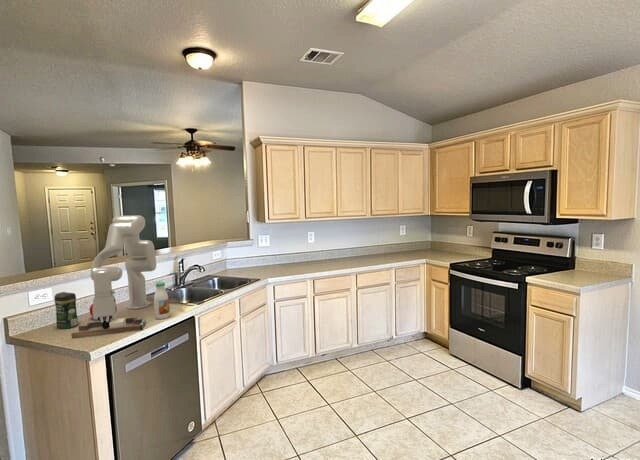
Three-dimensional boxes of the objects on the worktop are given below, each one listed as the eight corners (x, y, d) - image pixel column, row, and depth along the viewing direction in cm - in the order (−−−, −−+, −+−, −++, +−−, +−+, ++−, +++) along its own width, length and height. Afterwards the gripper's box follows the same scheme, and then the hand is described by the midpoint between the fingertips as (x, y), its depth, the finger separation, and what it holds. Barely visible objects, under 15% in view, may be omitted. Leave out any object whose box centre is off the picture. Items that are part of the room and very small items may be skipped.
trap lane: (82, 328, 184) (81, 323, 184) (146, 320, 193) (146, 316, 193) (71, 338, 170) (71, 333, 170) (142, 329, 179) (141, 325, 179)
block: (113, 328, 182) (112, 319, 182) (126, 327, 184) (125, 317, 183) (110, 332, 176) (109, 323, 176) (123, 331, 178) (122, 321, 178)
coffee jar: (53, 328, 185) (50, 293, 183) (69, 323, 192) (66, 290, 191) (66, 330, 182) (63, 295, 180) (81, 324, 189) (78, 291, 187)
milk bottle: (153, 320, 194) (151, 285, 192) (156, 316, 201) (153, 281, 200) (168, 318, 196) (166, 283, 194) (170, 314, 203) (168, 280, 202)
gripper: (121, 290, 183) (124, 324, 185) (89, 293, 179) (91, 328, 180) (118, 294, 176) (120, 329, 178) (84, 297, 172) (86, 333, 173)
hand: (106, 329), depth 179 cm, fingers closed
